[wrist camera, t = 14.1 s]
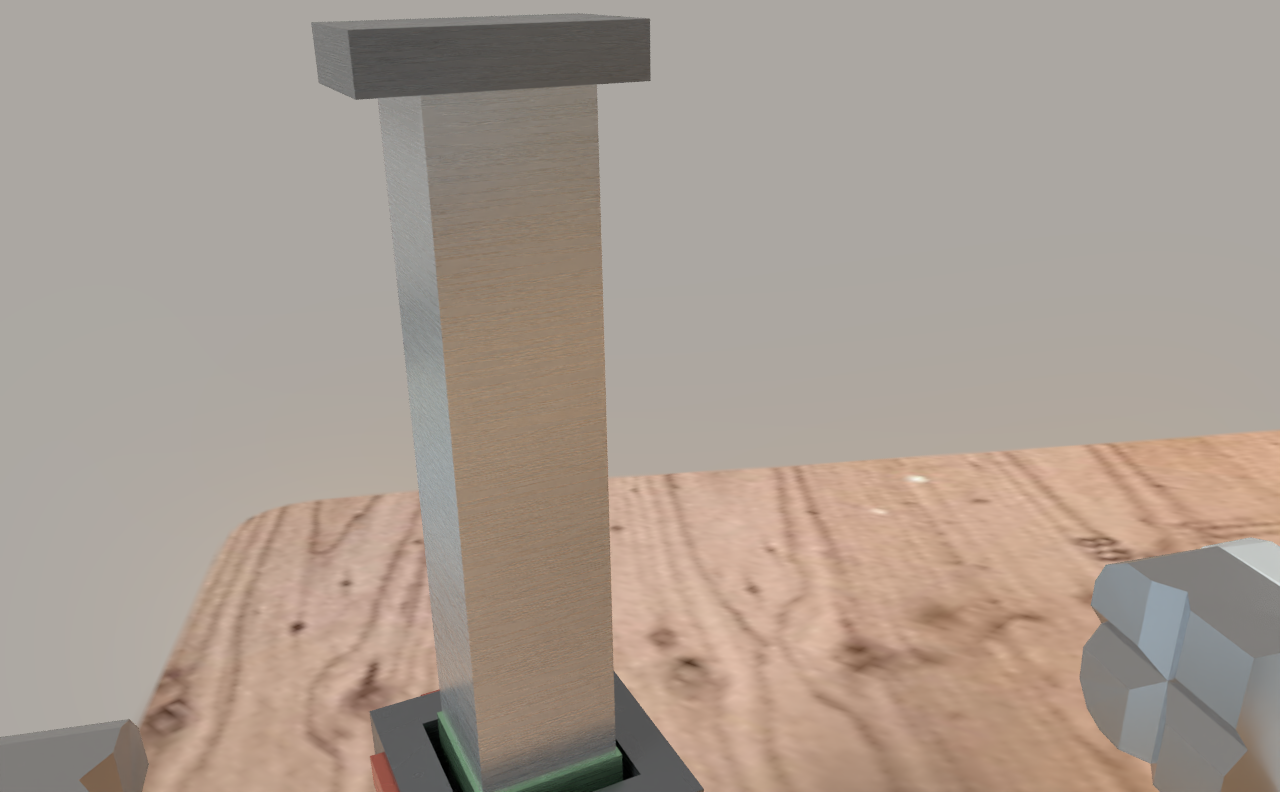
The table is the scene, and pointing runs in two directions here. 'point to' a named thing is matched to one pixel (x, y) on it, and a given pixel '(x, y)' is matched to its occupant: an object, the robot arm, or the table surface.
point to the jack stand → (419, 769)
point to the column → (505, 369)
